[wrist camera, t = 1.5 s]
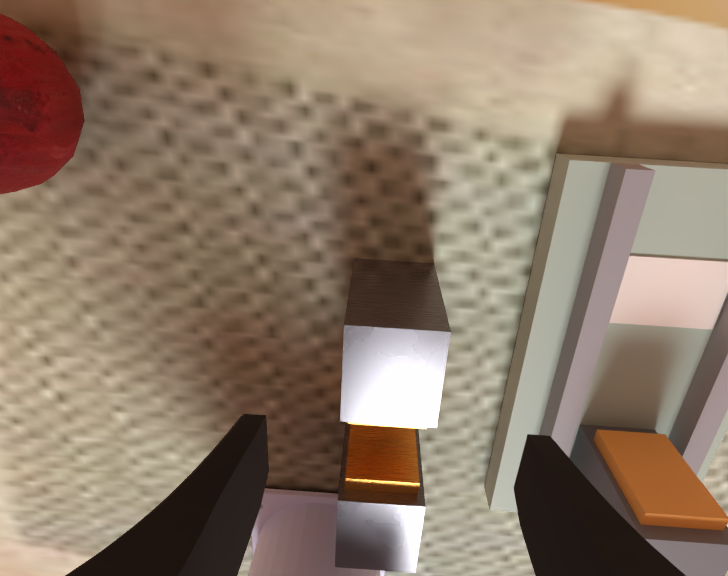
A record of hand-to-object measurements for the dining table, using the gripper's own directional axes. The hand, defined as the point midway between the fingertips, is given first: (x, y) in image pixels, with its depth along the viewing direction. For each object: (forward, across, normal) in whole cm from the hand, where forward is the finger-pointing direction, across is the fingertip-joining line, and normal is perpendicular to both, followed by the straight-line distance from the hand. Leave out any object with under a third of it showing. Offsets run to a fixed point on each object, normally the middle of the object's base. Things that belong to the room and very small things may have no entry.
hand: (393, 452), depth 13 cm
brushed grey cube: (+10, 0, 0) cm, 10 cm away
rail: (+10, -11, +2) cm, 15 cm away
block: (+9, 0, +8) cm, 13 cm away
